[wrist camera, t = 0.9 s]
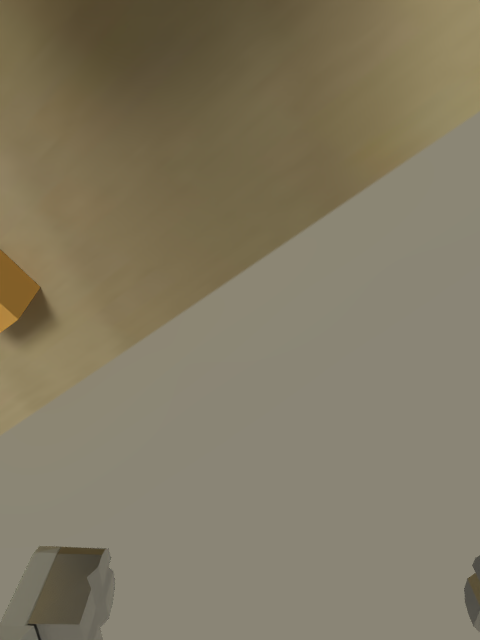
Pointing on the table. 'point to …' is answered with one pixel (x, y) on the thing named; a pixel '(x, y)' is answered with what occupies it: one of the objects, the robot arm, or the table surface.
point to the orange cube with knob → (13, 291)
